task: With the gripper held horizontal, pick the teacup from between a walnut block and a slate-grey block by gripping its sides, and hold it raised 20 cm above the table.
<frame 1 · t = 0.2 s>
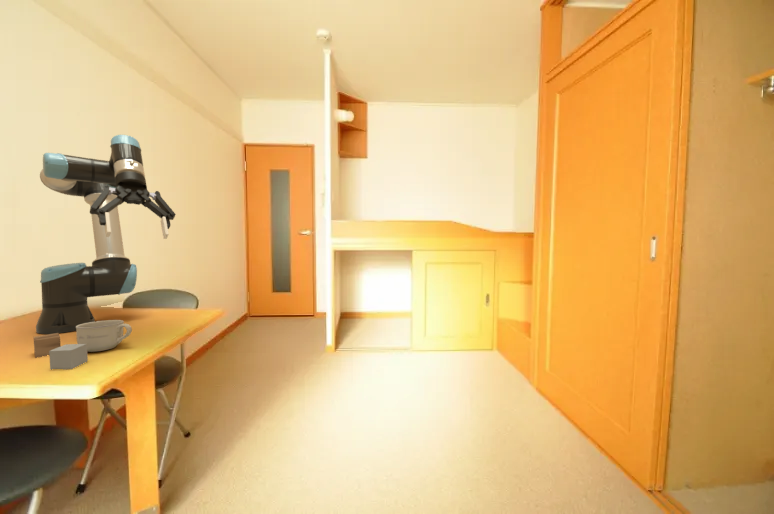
hand: (138, 235, 95), 34 cm above the table, tool tilted 30°, fingers open, 13 cm apart
teacup: (106, 349, 97), on the table
slate block: (69, 365, 85), on the table
walnut block: (47, 353, 93), on the table
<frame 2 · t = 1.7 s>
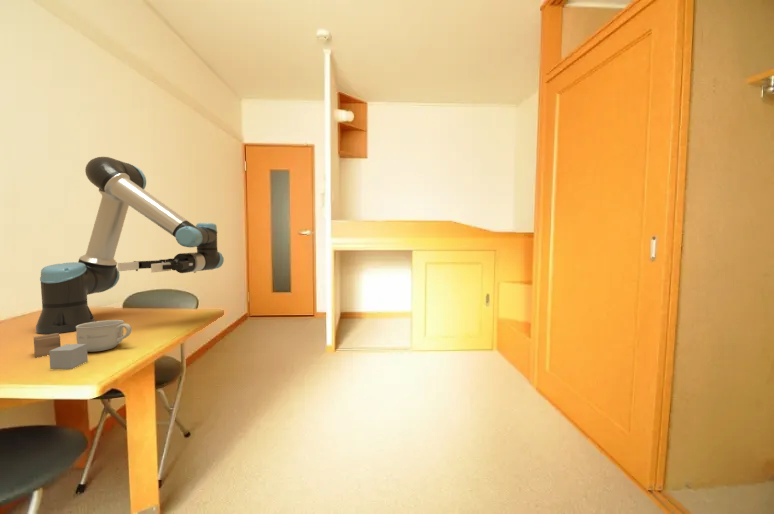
hand: (135, 267, 105), 24 cm above the table, tool horizontal, fingers open, 13 cm apart
nothing on the table moved.
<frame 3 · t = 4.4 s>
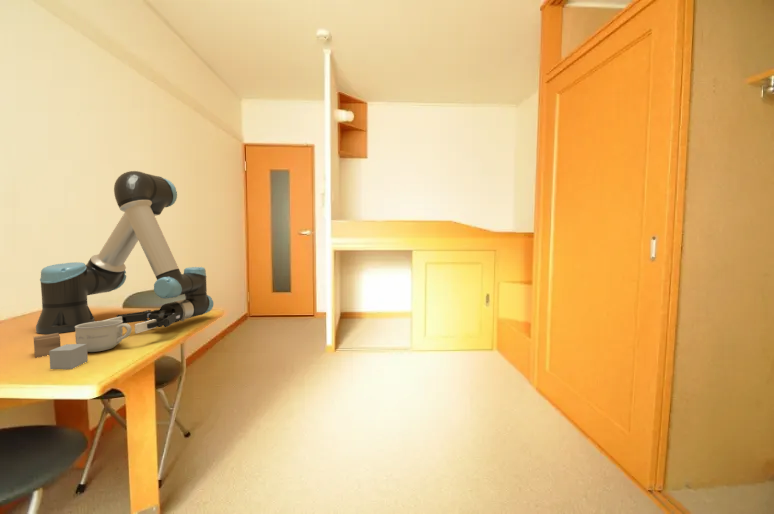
hand: (117, 327, 100), 6 cm above the table, tool horizontal, fingers open, 13 cm apart
teacup: (105, 349, 97), on the table, touching gripper
everything else where it was.
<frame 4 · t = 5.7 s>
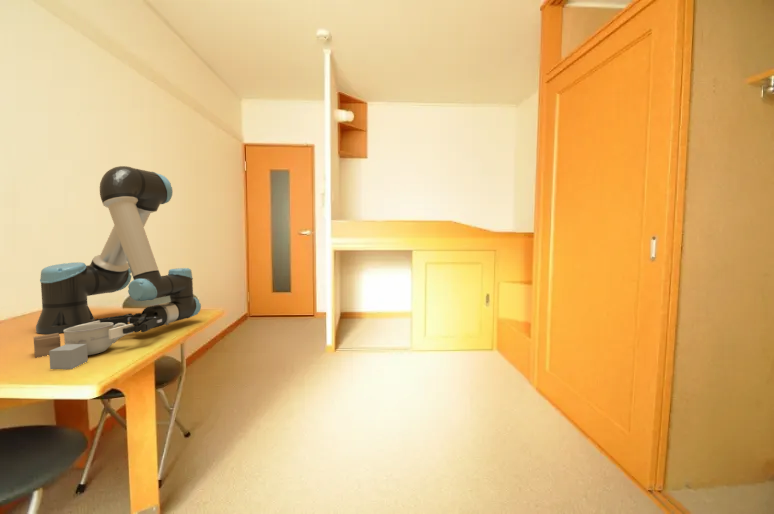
hand: (92, 332, 94), 6 cm above the table, tool horizontal, fingers open, 12 cm apart
teacup: (97, 352, 95), on the table, touching gripper
everything else where it was.
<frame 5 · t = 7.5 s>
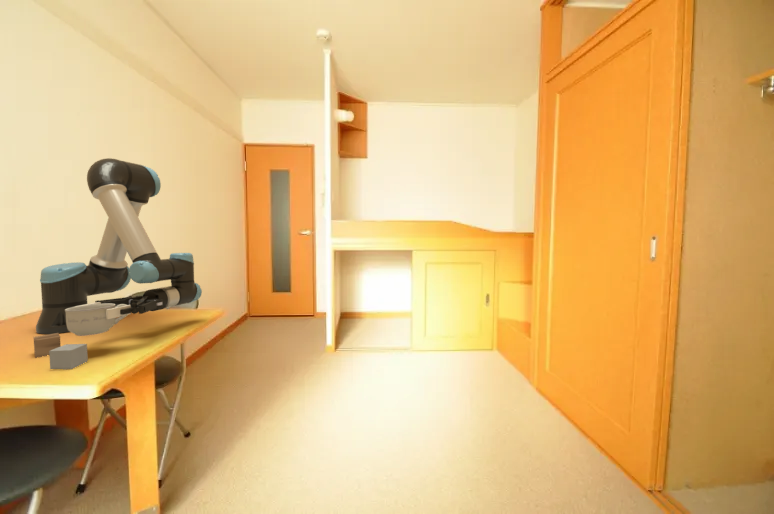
hand: (91, 312, 93), 12 cm above the table, tool horizontal, fingers closed on teacup, 11 cm apart
teacup: (99, 333, 94), point 6 cm above the table, touching gripper
everything else where it was.
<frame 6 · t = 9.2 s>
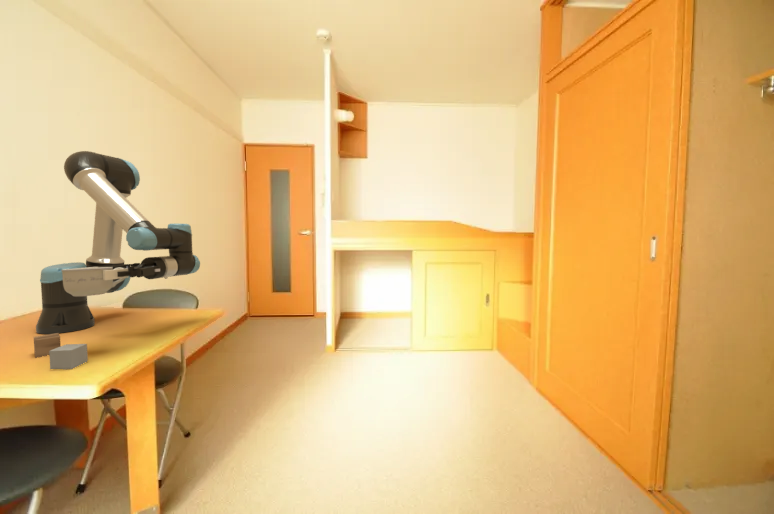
hand: (88, 274, 92), 23 cm above the table, tool horizontal, fingers closed on teacup, 11 cm apart
teacup: (96, 295, 93), point 17 cm above the table, touching gripper
everything else where it was.
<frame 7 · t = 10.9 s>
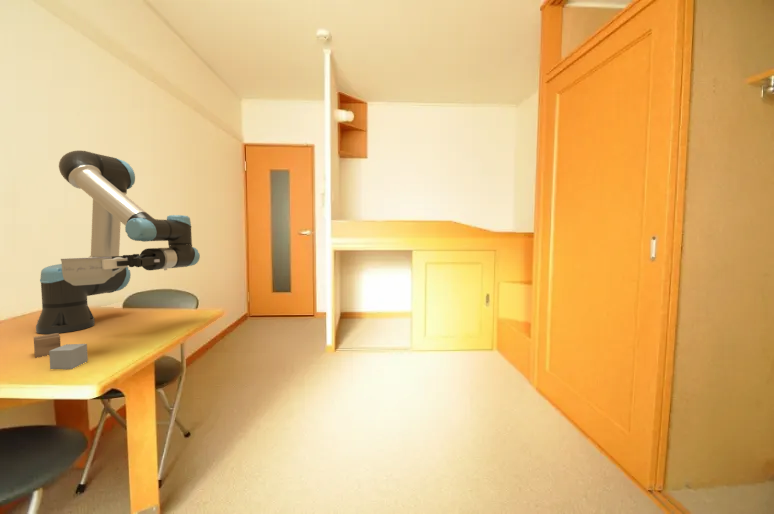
hand: (87, 263, 92), 26 cm above the table, tool horizontal, fingers closed on teacup, 11 cm apart
teacup: (96, 284, 93), point 20 cm above the table, touching gripper
everything else where it was.
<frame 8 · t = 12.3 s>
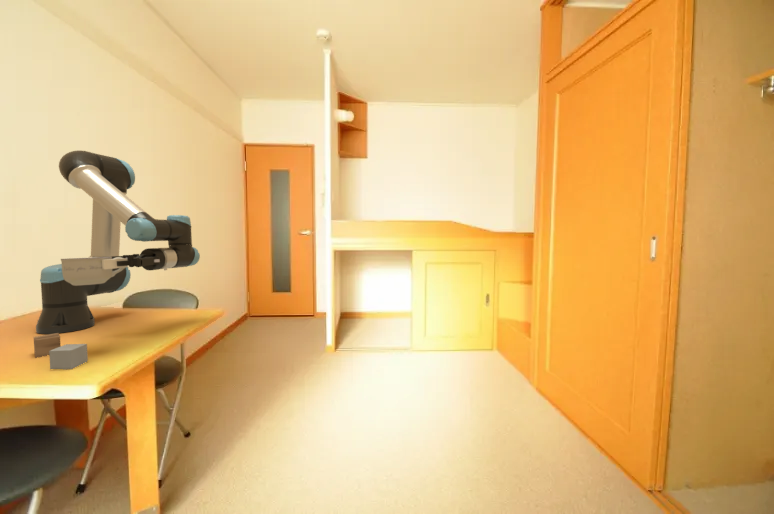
hand: (87, 263, 92), 26 cm above the table, tool horizontal, fingers closed on teacup, 11 cm apart
teacup: (96, 284, 93), point 20 cm above the table, touching gripper
everything else where it was.
at the end: the gripper is holding teacup; teacup point 19.8 cm above the table; walnut block moved 0.1 cm from its start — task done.
